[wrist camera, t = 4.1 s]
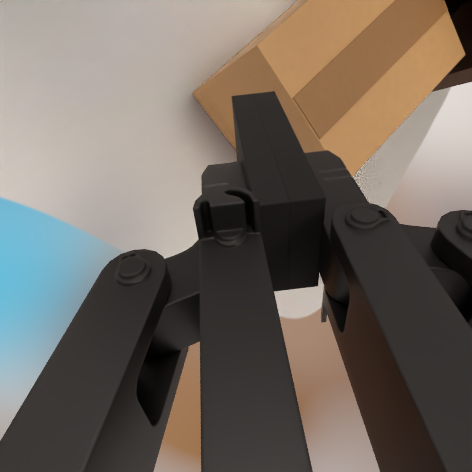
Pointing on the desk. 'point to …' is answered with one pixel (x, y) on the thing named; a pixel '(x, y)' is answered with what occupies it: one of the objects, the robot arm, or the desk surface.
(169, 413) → the robot arm
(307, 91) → the box
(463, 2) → the cabinet
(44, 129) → the desk surface
